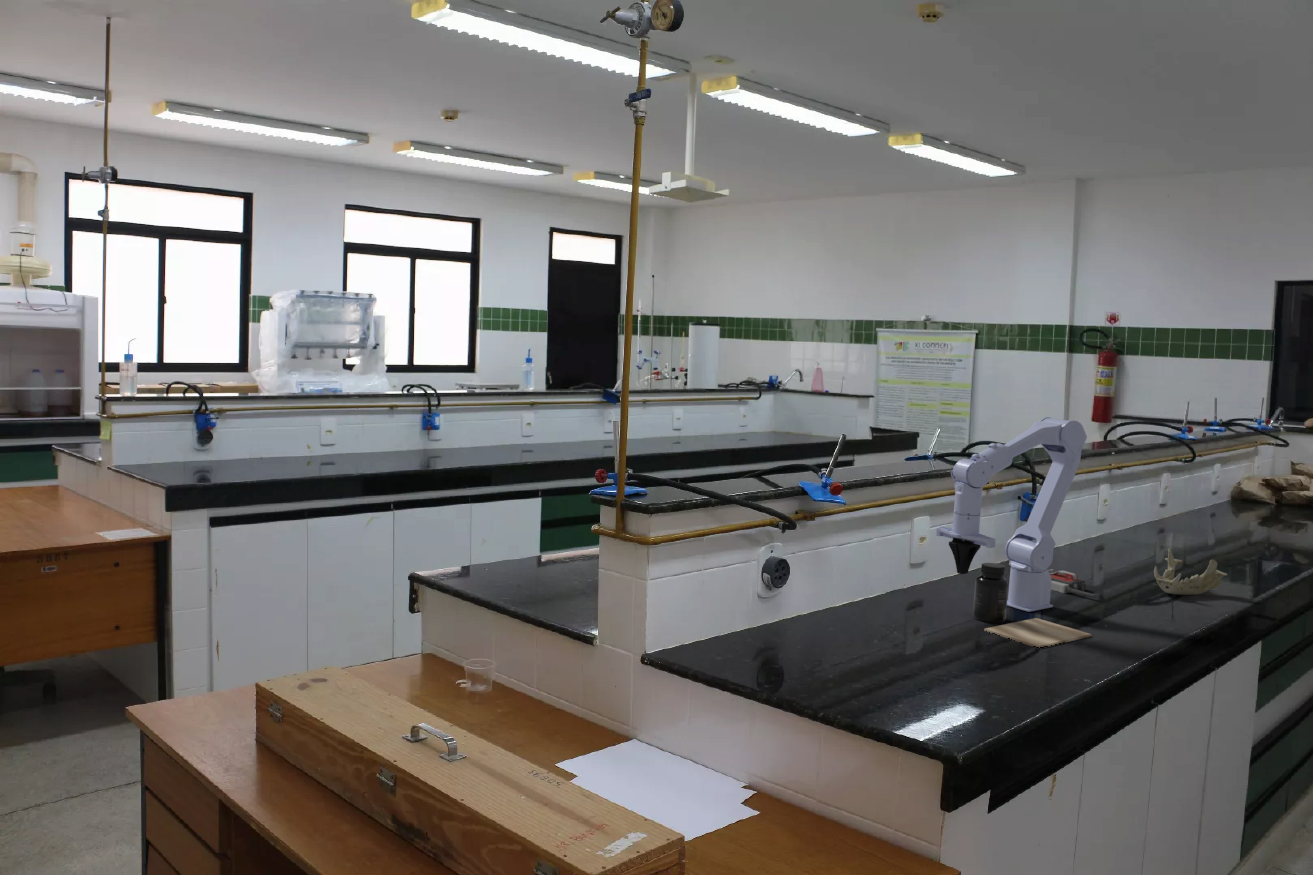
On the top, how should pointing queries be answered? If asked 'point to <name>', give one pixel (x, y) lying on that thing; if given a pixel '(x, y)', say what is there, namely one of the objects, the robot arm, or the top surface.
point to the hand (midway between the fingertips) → (962, 573)
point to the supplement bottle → (991, 594)
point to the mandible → (1191, 585)
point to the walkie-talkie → (1068, 583)
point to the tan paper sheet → (1037, 632)
